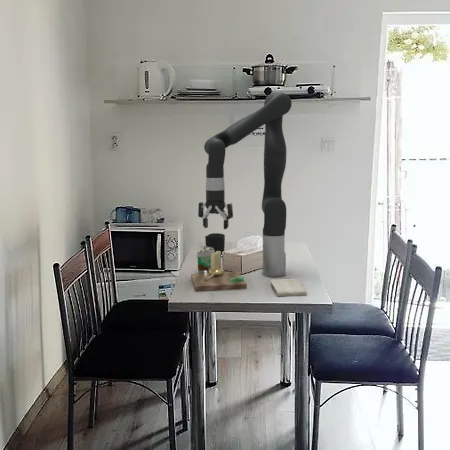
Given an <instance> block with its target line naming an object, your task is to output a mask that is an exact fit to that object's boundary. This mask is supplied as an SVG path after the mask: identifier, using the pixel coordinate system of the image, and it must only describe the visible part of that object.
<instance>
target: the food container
mask: <svg viewBox="0 0 450 450" xmlns="http://www.w3.org/2000/svg"><path fill="white" fill-rule="evenodd" d="M213 253H214V249H213V248H212V247H207V246H206V245H204V246H203V248H202V249H201V250H200V251H197V254H196V257H197V271H198V272H197V274H198V273H204V271H205V270H206V271H207V273H209V269H210V268H211V254H213Z"/></svg>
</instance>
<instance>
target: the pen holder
mask: <svg viewBox="0 0 450 450" xmlns="http://www.w3.org/2000/svg"><path fill="white" fill-rule="evenodd" d="M204 239H205V240H204V242H205V246H207V247H212V248H213V249H214V252H216V251H221V255H222V252H223V251H224V252H225V244H226V242H225V240H226V235H225V234H224V233H217V232H216V233H215V232H213V233H208V235H204Z"/></svg>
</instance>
